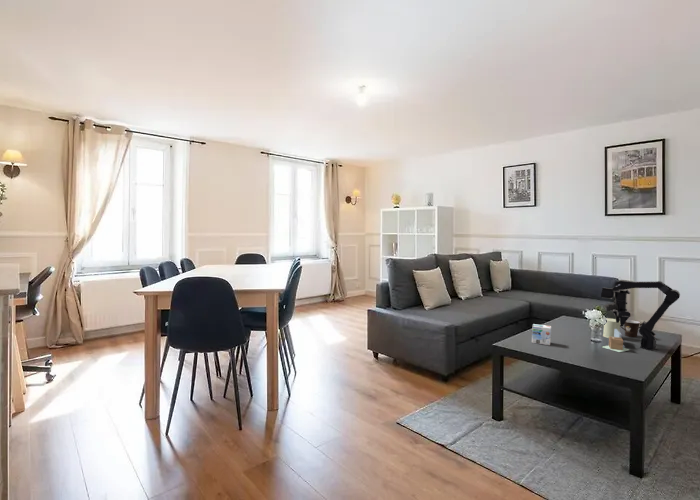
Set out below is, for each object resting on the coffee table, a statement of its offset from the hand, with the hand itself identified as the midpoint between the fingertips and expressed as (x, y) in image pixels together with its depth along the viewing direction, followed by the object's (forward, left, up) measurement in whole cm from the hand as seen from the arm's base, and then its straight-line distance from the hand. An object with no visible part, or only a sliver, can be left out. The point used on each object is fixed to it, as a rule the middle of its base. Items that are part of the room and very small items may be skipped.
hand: (619, 324), depth 241 cm
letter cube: (-6, +14, -12) cm, 19 cm away
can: (+10, -10, -12) cm, 18 cm away
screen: (-1, +3, -12) cm, 12 cm away
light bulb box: (+21, +44, -12) cm, 51 cm away
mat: (-6, +13, -12) cm, 19 cm away
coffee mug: (+7, -25, -12) cm, 28 cm away
